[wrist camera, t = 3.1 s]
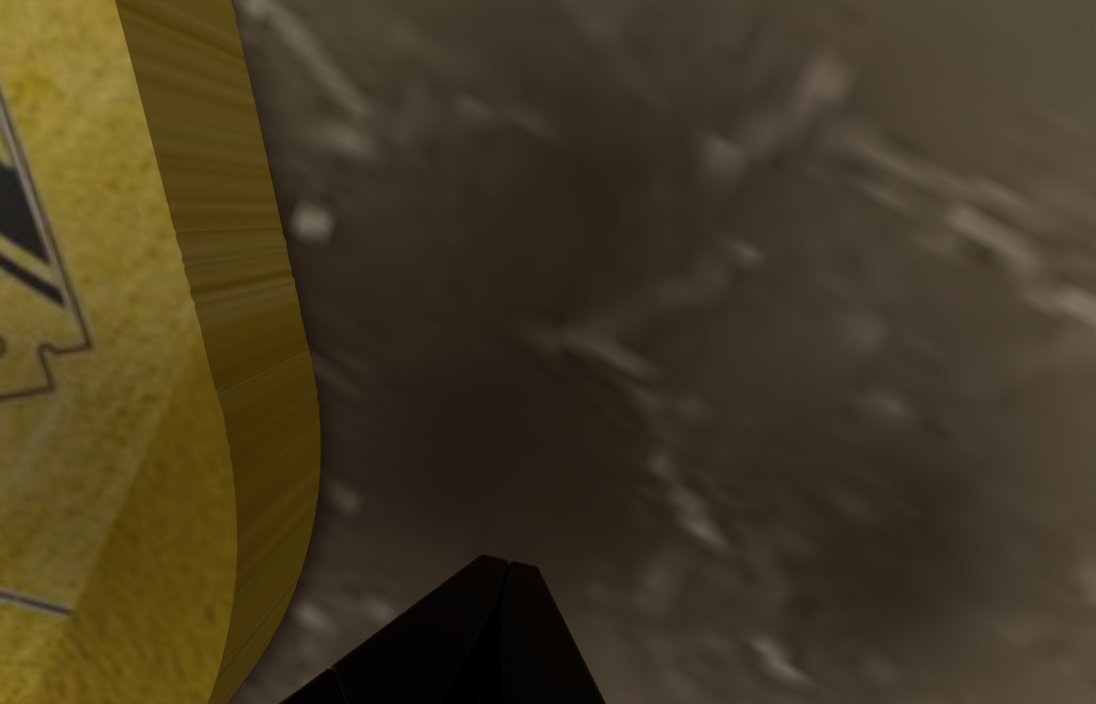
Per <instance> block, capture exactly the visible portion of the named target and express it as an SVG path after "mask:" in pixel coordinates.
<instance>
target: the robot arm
mask: <svg viewBox="0 0 1096 704" xmlns="http://www.w3.org/2000/svg"><path fill="white" fill-rule="evenodd" d="M480 692H481V693H480ZM479 697H480V698H479ZM478 701H479V702H478ZM279 704H606V703H605V701H604V699H603V697H602V695H601V693H600V691H599V689H598V687H597V685H596V683H595V681H594V679H593V677H592V675H591V673H590V671H589V669H588V667H587V665H586V663H585V661H584V659H583V657H582V655H581V653H580V651H579V649H578V647H577V645H576V643H575V641H574V639H573V637H572V635H571V633H570V631H569V629H568V627H567V625H566V623H565V621H564V619H563V617H562V615H561V613H560V611H559V609H558V607H557V605H556V603H555V601H554V599H553V597H552V595H551V593H550V591H549V589H548V587H547V585H546V583H545V581H544V579H543V577H542V575H541V573H540V571H539V569H538V568H537V567H536V566H534V565H529V564H524V563H520V562H515V561H514V562H511V563H510V564H509V566H508V561H507V560H505V559H502V558H498V557H493V556H489V555H481V556H479V557H478V558H476V559H475V560H474V561H472V562H471V563H470V564H468V565H467V566H465V567H464V568H463V569H461V570H460V571H459V572H457V573H456V574H455V575H453V576H452V577H451V578H449V579H448V580H447V581H445V582H444V583H443V584H441V585H440V586H439V587H437V588H436V589H434V590H433V591H432V592H430V593H429V594H428V595H426V596H425V597H424V598H422V599H421V600H420V601H418V602H417V603H416V604H414V605H413V606H412V607H410V608H409V609H408V610H406V611H405V612H403V613H402V614H401V615H399V616H398V617H397V618H395V619H394V620H393V621H391V622H390V623H389V624H387V625H386V626H385V627H383V628H382V629H381V630H379V631H378V632H377V633H375V634H374V635H372V636H371V637H370V638H368V639H367V640H366V641H364V642H363V643H362V644H360V645H359V646H358V647H356V648H355V649H354V650H352V651H351V652H350V653H348V654H347V655H346V656H344V657H343V658H341V659H340V660H339V661H337V662H336V663H335V664H333V665H332V666H331V669H326V670H325V671H324V672H322V673H321V674H319V675H318V676H317V677H315V678H314V679H313V680H311V681H310V682H309V683H307V684H306V685H305V686H303V687H302V688H300V689H299V690H297V691H296V692H295V693H293V694H292V695H290V696H289V697H287V698H286V699H285V700H283V701H282V702H280V703H279Z"/></svg>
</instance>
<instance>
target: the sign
mask: <svg viewBox="0 0 1096 704" xmlns="http://www.w3.org/2000/svg"><path fill="white" fill-rule="evenodd" d="M282 230H283V227H282V225H281V221H280V216H279V211H278V207H277V202H276V197H275V193H274V188H273V183H272V179H271V174H270V170H269V165H268V160H267V156H266V151H265V147H264V142H263V138H262V133H261V128H260V124H259V119H258V115H257V110H256V105H255V101H254V96H253V92H252V87H251V83H250V79H249V74H248V70H247V66H246V61H245V57H244V52H243V48H242V44H241V40H240V36H239V32H238V27H237V23H236V13H235V11H234V9H233V7H232V0H0V704H227V703H228V702H229V700H230V699H231V697H232V696H233V695H234V693H235V692H236V691H237V689H238V688H239V687H240V685H241V684H242V683H243V681H244V680H245V679H246V677H247V676H248V675H249V673H250V672H251V671H252V669H253V668H254V667H255V665H256V664H257V663H258V661H259V659H260V657H261V656H262V654H263V653H264V651H265V649H266V648H267V646H268V644H269V643H270V641H271V639H272V637H273V636H274V634H275V632H276V630H277V628H278V626H279V624H280V622H281V620H282V618H283V616H284V614H285V612H286V610H287V607H288V605H289V603H290V600H291V598H292V596H293V593H294V590H295V588H296V585H297V583H298V580H299V577H300V574H301V571H302V568H303V564H304V561H305V558H306V554H307V550H308V546H309V542H310V538H311V533H312V528H313V523H314V518H315V513H316V507H317V500H318V492H319V482H320V464H321V435H320V416H319V401H318V399H317V393H318V390H317V388H316V383H315V375H314V367H313V362H312V359H311V356H310V353H309V348H310V347H309V346H308V344H307V339H306V335H305V330H304V326H303V321H302V315H301V310H300V305H299V300H298V295H297V291H296V289H295V280H294V278H293V276H292V267H291V264H290V262H289V259H288V251H287V249H286V240H285V238H284V235H283V231H282Z"/></svg>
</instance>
